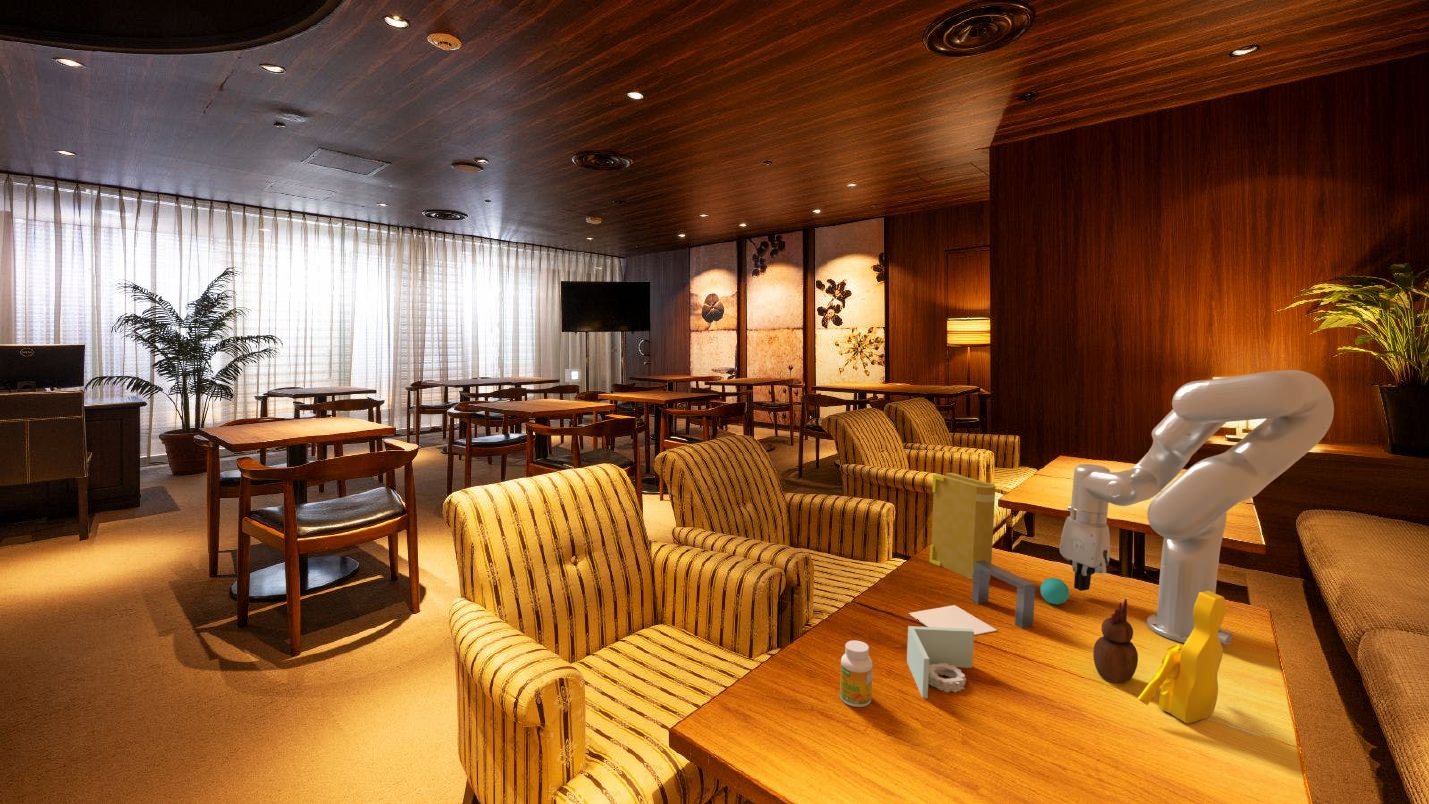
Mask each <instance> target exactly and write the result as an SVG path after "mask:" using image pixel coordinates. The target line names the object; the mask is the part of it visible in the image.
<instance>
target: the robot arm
mask: <svg viewBox="0 0 1429 804" xmlns="http://www.w3.org/2000/svg"><path fill="white" fill-rule="evenodd" d="M1172 397H1173V398H1172V401H1171V405H1172V409H1171V411H1169V412H1168V414H1166V415H1165V416H1164V417H1163V419H1162V420H1161V421H1160V422H1159V423H1158V424H1157V425H1156V426H1155V427H1154V428H1153V429H1152V431H1151V437H1152V445H1151V447H1150V448H1149V450H1148V452H1147V453H1146V454H1145V455H1144V456H1143V457H1142V458H1141V459H1140V460H1139V461H1138V462H1137V463H1136V464H1134V466H1133V467H1132V468H1131V469H1126V470H1122V471H1115V472H1113V471H1112V472H1111V470H1110V468H1108V467H1106V466H1103V465H1098V464H1093V463H1092V464H1091V463H1090V464H1089V463H1081V464H1078V465H1077V466H1076V467H1075V468H1074V470H1073V471H1074V472H1073V482H1072V492H1071V503H1070V504H1071V505H1068V507H1067V511H1069V512H1070V515H1069V516H1067V517H1066V518H1065V522H1064V525H1063V528H1062V532H1061V537H1060V543H1059V545H1060V546H1059V553H1060V555H1061V556H1062V558H1063V559H1065V560H1066V561H1068V562H1069V563H1070V565H1071V566H1072V571H1073V572H1074V581H1073V582H1074V583H1073V588H1074V589H1076V590H1077V591H1079V592H1083V591H1088V590H1090V588H1091V579H1092V576H1093V575H1094V574H1095V573H1096V574H1106V573H1107V566H1108V565H1109V562H1110V556H1111V537H1110V535H1111V534H1110V528H1109V527H1110V526H1109V525H1108V524H1107V520H1108V513H1109V511H1108V510H1109V503H1110V504H1111V505H1115V506H1119V507H1127V506H1131V505H1134V504H1137V503H1140V502H1145V501H1148V500H1150V499H1152V498H1153V499H1152V500H1151V502H1150V503H1149V505H1148V506H1147V507H1148V508H1147V511H1146V516H1147V521H1148V524H1149V525H1150V528H1151V529H1152V530H1153V531H1154V532H1155V533H1156V534H1158V535H1159V536H1161V537H1163V542H1162V548H1161V549H1162V550H1161V557H1160V558H1161V559H1160V569H1159V570H1160V571H1159V580H1158V581H1159V582H1158V583H1159V584H1158V595H1157V608H1156V614H1155V613H1154V614H1151V615H1149V616H1148V617H1147V619H1146V624H1147V626H1148V628H1150V630H1152V631H1153V632H1155V633H1156V634H1158V635H1159V636H1162V637H1164V638H1166V639H1170V640H1173V641H1175V642H1179V643H1182V644H1185V642H1186V641H1187V639H1188V638H1189V636H1190V634H1191V633H1192V631H1193V629H1194V617H1193V609H1194V605H1195V602H1196V600H1197V597H1198V595H1199V593H1200V592H1205V591H1210V592H1213V593H1215V594H1217V593H1216V592H1217V581H1218V580H1217V579H1218V572H1219V571H1218V570H1219V561H1220V553H1221V546H1222V542H1223V538H1224V537H1223V536H1224V533H1225V529H1226V525H1227V517H1228V516H1227V515H1228V514H1227V512H1228V511H1229V510H1231V509H1233V507H1235V506H1237V504H1239V503H1242V502H1245V501H1248V500H1250V499H1252V498H1254V497H1255V496H1257V495H1259V493H1260V492H1262V490H1264V489H1265V488H1266V487H1267V486H1268V485H1269V484H1271V482H1273V481H1274V480H1275V479H1277V478H1279V476H1280V475H1282V474H1283V473H1284V472H1286V471H1287V470H1288V469H1289V468H1291V467H1292V466H1293V465H1294V464H1295V463H1296V462H1298V461H1299V460H1300V459H1302V457H1304V456H1305V455H1306V454H1307V453H1309V452H1310V451H1312V450H1313V449H1314V447H1316V446H1317V445H1318V444H1319V443H1320V442H1321V441H1322V440H1323V438H1324V437H1325V435H1326V434H1327V432H1328V431H1329V429H1330V427H1331V425H1332V423H1333V419H1334V412H1335V406H1334V404H1335V403H1334V401H1333V396H1332V394H1331V393H1330V390H1329V389H1328V387H1327V386H1326V385H1325V383H1324V382H1323V381H1322V380H1321V379H1320V378H1319V377H1317V376H1316V375H1314V374H1312V373H1310V372H1307V371H1303V370H1296V369H1284V370H1283V369H1282V370H1273V371H1272V370H1271V371H1263V372H1262V371H1261V372H1257V373H1255V372H1254V373H1249V374H1242V375H1235V376H1227V377H1222V378H1213V379H1212V378H1211V379H1205V380H1204V379H1200V380H1193V381H1190V382H1187V383H1185V384H1182V386H1180V387H1179V388H1177V390H1176V392H1175V393H1174V395H1173V396H1172ZM1250 420H1253V421H1254V420H1264V421H1262V422H1261V423H1259V424H1258V425H1257V426H1256V427H1254V428H1253V429H1252V430H1250V432H1248V433H1247V434H1246V435H1244V437H1243V438H1242V439H1240V440H1239V441H1237V443H1236V444H1234V445H1233V446H1232V447H1230V448H1228V449H1227V450H1226V451H1224V452H1222V453H1220V454H1217V455H1213V456H1209V457H1206V458H1203V459H1201V460H1199V461H1197V462H1196V463H1195V464H1193V465H1192V466H1190V467H1189V468H1187V470H1186V471H1184V472H1183V473H1182V474H1181V475H1180V476H1178V475H1179V474H1180V473H1181V471H1182V470H1183V469H1184V468H1185V466H1186V465H1187V464H1188V462H1189V461H1190V460H1191V457H1192V456H1193V455H1194V454H1195V453H1196V452H1197V451H1198V450H1199V449H1201V447H1202V446H1203V445H1204V444H1206V442H1207V441H1208V440H1210V438H1211V437H1212V436H1214V435H1215V434H1216V433H1217V432H1218V431H1219V430H1220V429H1221V428H1222V427H1223V426H1224V425H1225V424H1226V423H1228V422H1229V423H1230V422H1240V421H1241V422H1243V421H1250ZM1177 476H1178V477H1177ZM1176 477H1177V478H1176ZM1175 478H1176V479H1175ZM1174 479H1175V480H1174ZM1173 480H1174V481H1173ZM1171 482H1172V483H1171ZM1170 483H1171V484H1170ZM1163 489H1164V490H1163ZM1218 637H1219V640H1220V643H1221V644H1224V645H1225V646H1229V645H1230V644H1232V638H1233V633H1232V632H1231V631H1228V630H1226V629H1224V628H1223V629H1222V628H1221V627H1220V628H1219V630H1218Z"/></svg>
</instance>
